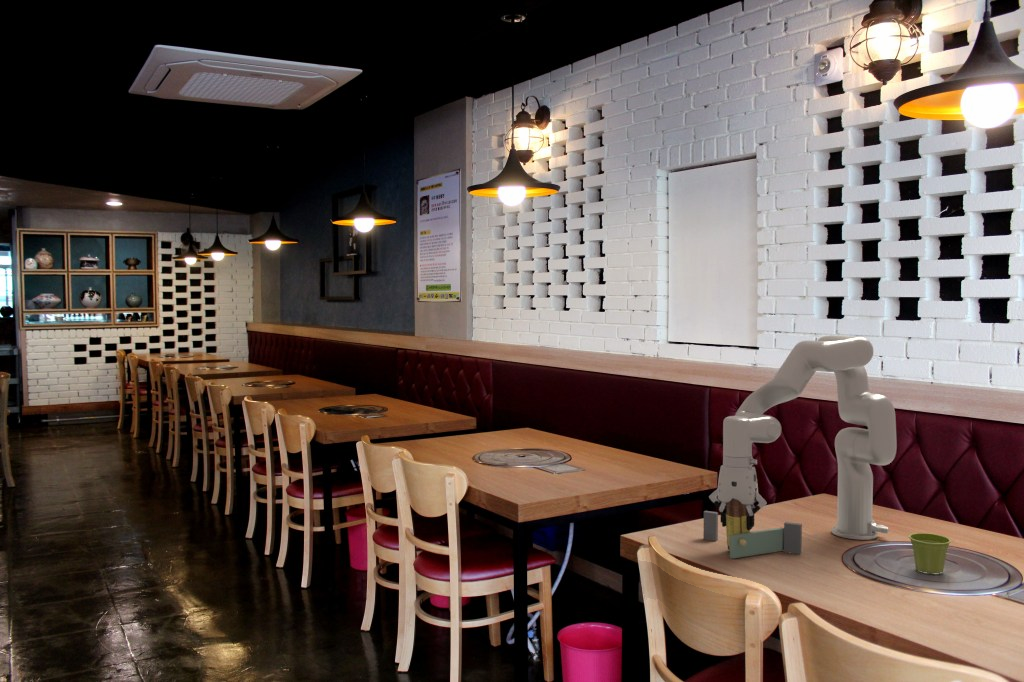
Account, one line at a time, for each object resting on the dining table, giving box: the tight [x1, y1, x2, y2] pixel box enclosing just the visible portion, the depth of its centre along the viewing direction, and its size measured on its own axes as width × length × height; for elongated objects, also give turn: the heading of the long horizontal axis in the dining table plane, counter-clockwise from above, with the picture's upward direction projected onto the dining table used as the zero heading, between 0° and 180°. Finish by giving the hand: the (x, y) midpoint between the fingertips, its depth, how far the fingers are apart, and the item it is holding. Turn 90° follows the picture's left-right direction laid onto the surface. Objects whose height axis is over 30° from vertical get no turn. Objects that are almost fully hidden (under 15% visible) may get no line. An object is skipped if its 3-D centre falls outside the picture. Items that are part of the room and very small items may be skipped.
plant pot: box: [908, 532, 952, 573], centre depth 204 cm, size 9×9×9 cm
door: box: [729, 527, 784, 559], centre depth 217 cm, size 18×3×6 cm, turn 115°
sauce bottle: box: [725, 481, 751, 552], centre depth 219 cm, size 6×6×20 cm
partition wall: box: [702, 510, 803, 555], centre depth 226 cm, size 27×2×8 cm, turn 58°
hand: (737, 526), depth 219 cm, fingers closed on sauce bottle, 6 cm apart
